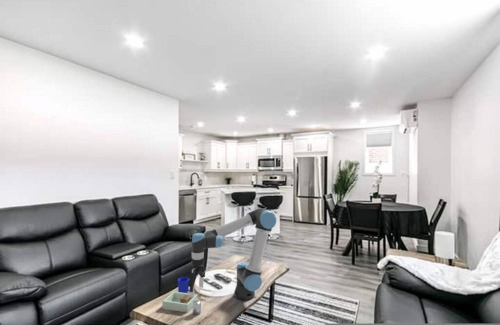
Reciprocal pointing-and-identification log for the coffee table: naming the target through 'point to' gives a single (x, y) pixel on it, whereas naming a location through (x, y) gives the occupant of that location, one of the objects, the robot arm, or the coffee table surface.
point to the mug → (183, 285)
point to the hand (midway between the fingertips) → (196, 291)
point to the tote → (178, 302)
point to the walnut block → (185, 299)
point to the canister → (196, 307)
